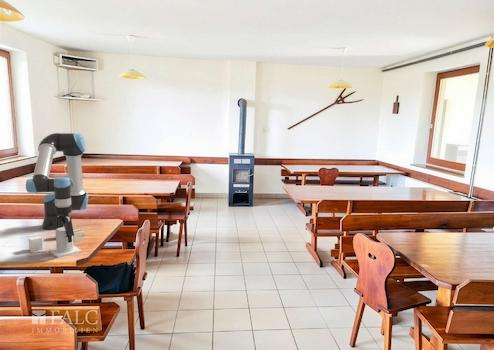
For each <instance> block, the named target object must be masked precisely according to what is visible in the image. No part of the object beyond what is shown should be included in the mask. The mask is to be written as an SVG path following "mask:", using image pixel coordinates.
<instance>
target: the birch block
mask: <svg viewBox="0 0 494 350" xmlns="http://www.w3.org/2000/svg"><path fill="white" fill-rule="evenodd" d="M73 232H74V235H73V243H74V244H75V243H80V242H84V241H86V236H85V235H86V234H85V233H86V232H85V230H84V229H82V228H77V229H73Z"/></svg>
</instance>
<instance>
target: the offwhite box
mask: <svg viewBox="0 0 494 350" xmlns="http://www.w3.org/2000/svg"><path fill="white" fill-rule="evenodd" d="M28 247H29V248H28V250H29V251H30V252H31V253H36V251H37V252H40V251H43V249H44V248H43V239H42V237H41V236H40V235H36V236H32V237H31V236H30V237H28Z"/></svg>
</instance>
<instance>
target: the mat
mask: <svg viewBox="0 0 494 350" xmlns="http://www.w3.org/2000/svg"><path fill="white" fill-rule="evenodd" d="M48 251H49V253H50V254H51V255H53V256H54V257H55V258H57V259H60V258H63V257H68V256H71V255H75V254H79V253H82V251H83V250H82V249H81V248H79V247H78V246H75V245H74V250H73V251H70V252H67V253H58V252H57V247H56V248H53V249H49V250H48Z"/></svg>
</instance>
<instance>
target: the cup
mask: <svg viewBox="0 0 494 350" xmlns="http://www.w3.org/2000/svg"><path fill="white" fill-rule="evenodd" d="M65 236H67V235H66V231H65V227H61V228H57V229H55V242H56V243H55V245H56V248H57V252H58V253H67V252H70V251H73V250H74V246H75V245H74V244H75V243H74V242H73V236H72V246H73V247H71V248H67V246H66V237H65Z"/></svg>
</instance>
